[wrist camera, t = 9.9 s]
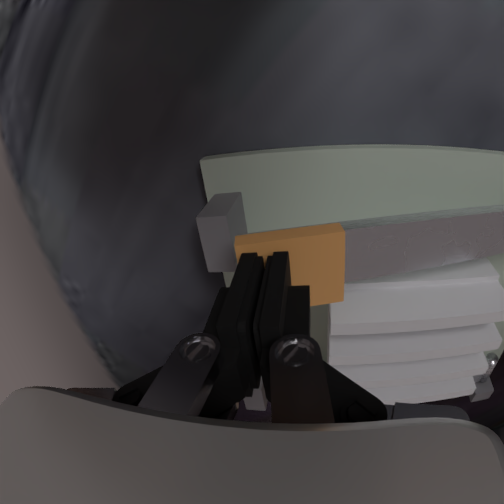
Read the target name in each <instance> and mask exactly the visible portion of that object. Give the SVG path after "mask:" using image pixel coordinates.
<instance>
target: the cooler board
mask: <svg viewBox="0 0 504 504" xmlns="http://www.w3.org/2000/svg"><path fill="white" fill-rule="evenodd" d="M200 166H201V171H202V176H203V181H204V186H205V191H206V196H207V201H208V203H207V204H206V205H205V207H204V208H203V209H202V210H201V212H200V213H199V214H198V215H197V217H196V222H197V227H198V231H199V235H200V239H201V244H202V248H203V252H204V256H205V260H206V264H207V268H208V272H223V276H224V280H225V284H226V287H230V284H231V281H232V279H233V276H234V273H235V270H236V267H237V265H238V263H237V258H236V252H235V247H234V243H235V236H237V235H240V234H247V233H255V232H262V231H270V230H277V229H285V228H293V227H301V226H309V225H317V224H325V223H333V222H341V221H350V220H358V219H367V218H375V217H384V216H393V215H402V214H411V213H420V212H430V211H439V210H449V209H459V208H469V207H479V206H490V205H500V204H504V152H502V151H493V150H484V149H473V148H461V147H446V146H427V145H390V144H366V145H327V146H307V147H291V148H277V149H266V150H255V151H245V152H236V153H227V154H219V155H211V156H205V157H204V158H202V159H201V160H200ZM310 314H311V326H310V337H312V338H313V339H315V340H316V341H317V342H318V344H319V346H320V349H321V354H322V359H323V360H324V361H325V362H326V363H328V364H329V365H331V366H332V367H333V368H335V369H336V370H338V371H339V372H341V373H342V374H343V375H345V376H346V377H348V378H349V379H351V380H352V381H354V382H355V383H356V384H358V385H359V386H361V387H362V388H364V389H365V390H367V391H368V392H370V393H371V394H373V395H374V396H376V397H377V398H378V399H379V400H381V401H382V402H383V403H384V404H387V405H394V404H395V402H400V403H411V404H415V403H423V402H430V401H437V400H443V399H449V398H455V397H461V396H466V395H469V398H470V401H471V402H475V401H479V400H484V399H488V398H489V397H490V396H491V394H492V393H493V391H494V389H493V386H492V383H491V380H490V377H488V379H487V381H486V382H484V383H481V382H474V379H473V376H475V375H480V374H485V373H486V371H487V369H488V367H489V365H488V362H487V360H486V357H485V356H486V355H487V354H488V353H495V354H496V355H497V356H498V360H499V358H500V356H501V354H502V352H503V350H504V253H501V254H497V255H492V256H488V257H483V258H478V259H473V260H468V261H463V262H459V263H453V264H448V265H443V266H438V267H433V268H427V269H422V270H417V271H411V272H405V273H400V274H394V275H388V276H382V277H376V278H370V279H364V280H358V281H351V282H345V283H344V301H342V302H336V303H329V304H323V305H316V306H310ZM267 401H268V400H267V399H266V395H265V389H264V386H263V381H262V376H261V380H260V385H259V388H258V389H254V390H253V395H252V397H245V398H244V402H245V406H246V409H248V410H261V411H266V406H267Z"/></svg>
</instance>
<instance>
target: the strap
mask: <svg viewBox="0 0 504 504" xmlns="http://www.w3.org/2000/svg"><path fill="white" fill-rule="evenodd" d="M234 247H235V252H236V258H237V263H238V262H239V259H240V256H241V254H242V253H254V252H257V254H258V256H263V260H264V267H265V266H266V261H267V257H268V256H273V252H277V251H288V252H289V261H290V273H291V285H292V286H300V285H310V306H316V305H323V304H329V303H336V302H342V301H344V283H345V282H351V281H358V280H364V279H370V278H376V277H382V276H388V275H394V274H400V273H405V272H411V271H417V270H422V269H427V268H433V267H438V266H443V265H448V264H453V263H459V262H463V261H468V260H473V259H478V258H483V257H488V256H492V255H497V254H501V253H504V204H500V205H490V206H479V207H469V208H459V209H449V210H439V211H430V212H420V213H411V214H402V215H393V216H384V217H375V218H367V219H358V220H350V221H341V222H333V223H325V224H317V225H309V226H301V227H293V228H285V229H277V230H270V231H262V232H255V233H247V234H240V235H237V236H235V243H234Z"/></svg>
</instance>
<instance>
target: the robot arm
mask: <svg viewBox="0 0 504 504" xmlns="http://www.w3.org/2000/svg"><path fill="white" fill-rule="evenodd" d="M310 326H311V314H310V285H300V286H292V285H291V273H290V261H289V252H288V251H277V252H273V256H268V257H267V261H266V266H265V267H264V260H263V256H258V254H257V252H254V253H242V254H241V256H240V259H239V262H238V265H237V267H236V270H235V273H234V276H233V279H232V281H231V284H230V287H222V288H221V289H220V290H219V293H218V295H217V298H216V300H215V303H214V305H213V308H212V311H211V313H210V316H209V318H208V321H207V323H206V326H205V329H204V331H203V333H195V334H191V335H189V336H186V337H185V338H183V339H182V340H181V341H180V342H179V343H178V344H177V345H176V347H175V348H174V350H173V351H172V353H171V355H170V356H169V358H168V359H167V361H166V362H165V364H164V365H163V366H162V367H160V368H158V369H156V370H154V371H152V372H150V373H148V374H146V375H144V376H142V377H140V378H138V379H136V380H134V381H132V382H130V383H128V384H126V385H124V386H123V387H121V388H120V389H119V390H118V391H117V390H116V389H115V388H69V389H67V390H65V389H62V388H55V387H45V386H33V387H25V388H21V389H18V390H15V391H14V392H12V393H11V394H10V395H9V396H8V397H7V398H6V399H5V400H4V402H3V403H2V404H1V405H0V504H504V445H503V443H502V442H501V440H500V438H499V437H498V436H497V435H496V434H495V432H493V431H492V430H491V429H489V428H487V427H486V426H483V425H480V424H478V423H475V422H470V421H469V417H468V415H467V414H466V412H465V411H464V410H462V409H461V408H459V407H455V406H444V405H425V404H411V403H400V402H395V404H394V405H387V404H384V403H383V402H382V401H381V400H379V399H378V398H377V397H376V396H374V395H373V394H371V393H370V392H368V391H367V390H365V389H364V388H362V387H361V386H359V385H358V384H356V383H355V382H354V381H352V380H351V379H349V378H348V377H346V376H345V375H343V374H342V373H341V372H339V371H338V370H336V369H335V368H333V367H332V366H331V365H329V364H328V363H326V362H325V361H324V360H323V359H322V354H321V349H320V346H319V344H318V342H317V341H316V340H315V339H313V338H312V337H310ZM261 376H262V381H263V386H264V389H265V395H266V399H267V400H268V401H270V402H271V412H272V423H262V422H246V421H233V420H234V418H235V415H236V413H237V410H238V406H239V405H238V402H239V401H241V400H242V399H244V398H245V397H252V395H253V390H254V389H258V388H259V385H260V380H261Z"/></svg>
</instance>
